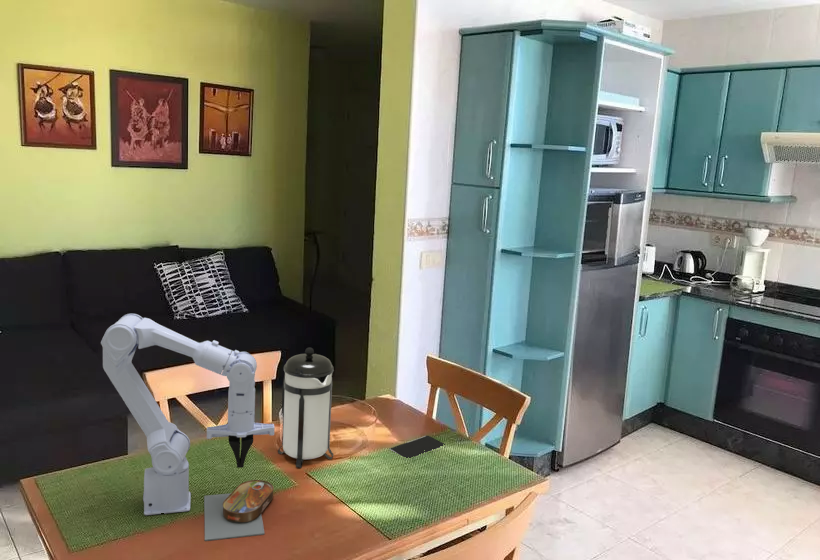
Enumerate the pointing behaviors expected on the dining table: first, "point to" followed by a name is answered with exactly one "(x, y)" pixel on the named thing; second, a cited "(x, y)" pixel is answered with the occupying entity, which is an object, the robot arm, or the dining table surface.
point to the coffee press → (307, 406)
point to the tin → (248, 501)
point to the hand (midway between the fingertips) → (240, 465)
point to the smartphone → (417, 446)
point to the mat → (226, 521)
